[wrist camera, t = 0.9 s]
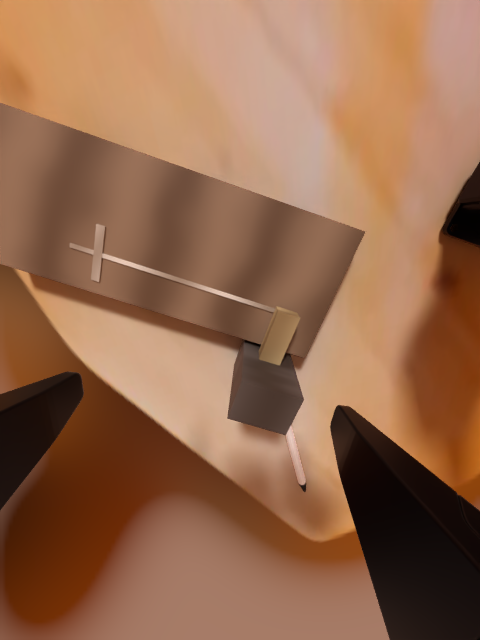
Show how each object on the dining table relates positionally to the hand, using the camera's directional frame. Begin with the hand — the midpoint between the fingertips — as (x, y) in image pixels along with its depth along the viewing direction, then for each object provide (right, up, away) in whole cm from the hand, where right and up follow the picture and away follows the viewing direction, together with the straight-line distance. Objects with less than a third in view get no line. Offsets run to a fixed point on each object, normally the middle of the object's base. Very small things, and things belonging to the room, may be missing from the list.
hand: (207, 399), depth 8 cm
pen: (+6, -8, +17) cm, 19 cm away
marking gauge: (+4, +1, +12) cm, 13 cm away
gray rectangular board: (-4, +8, +10) cm, 14 cm away
